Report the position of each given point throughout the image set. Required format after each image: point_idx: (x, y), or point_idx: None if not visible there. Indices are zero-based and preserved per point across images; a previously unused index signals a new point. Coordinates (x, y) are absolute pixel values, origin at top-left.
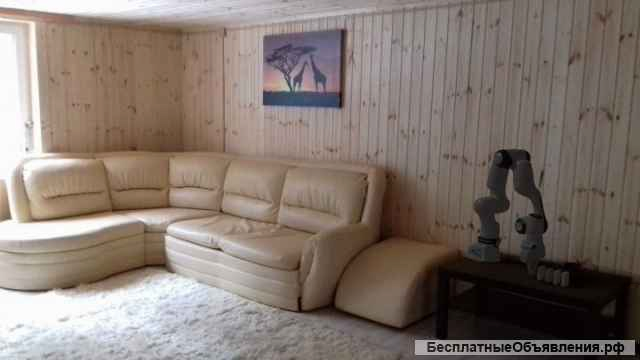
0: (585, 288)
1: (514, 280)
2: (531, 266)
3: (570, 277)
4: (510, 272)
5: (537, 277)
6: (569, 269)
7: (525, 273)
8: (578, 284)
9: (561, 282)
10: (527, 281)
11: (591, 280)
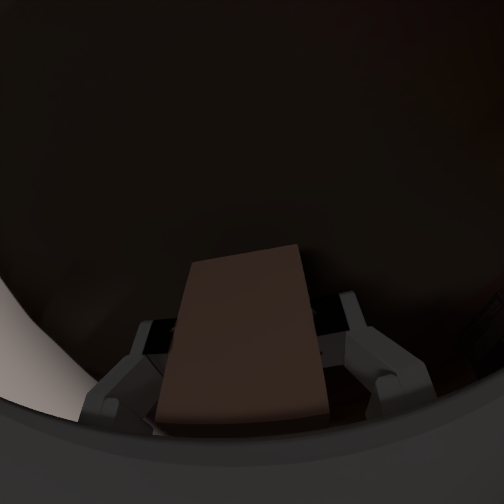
0: (331, 426)
1: (32, 255)
2: None
3: (460, 340)
4: (135, 8)
5: None
6: (482, 371)
7: (297, 107)
8: (366, 403)
9: None
10: (112, 308)
11: (462, 374)
